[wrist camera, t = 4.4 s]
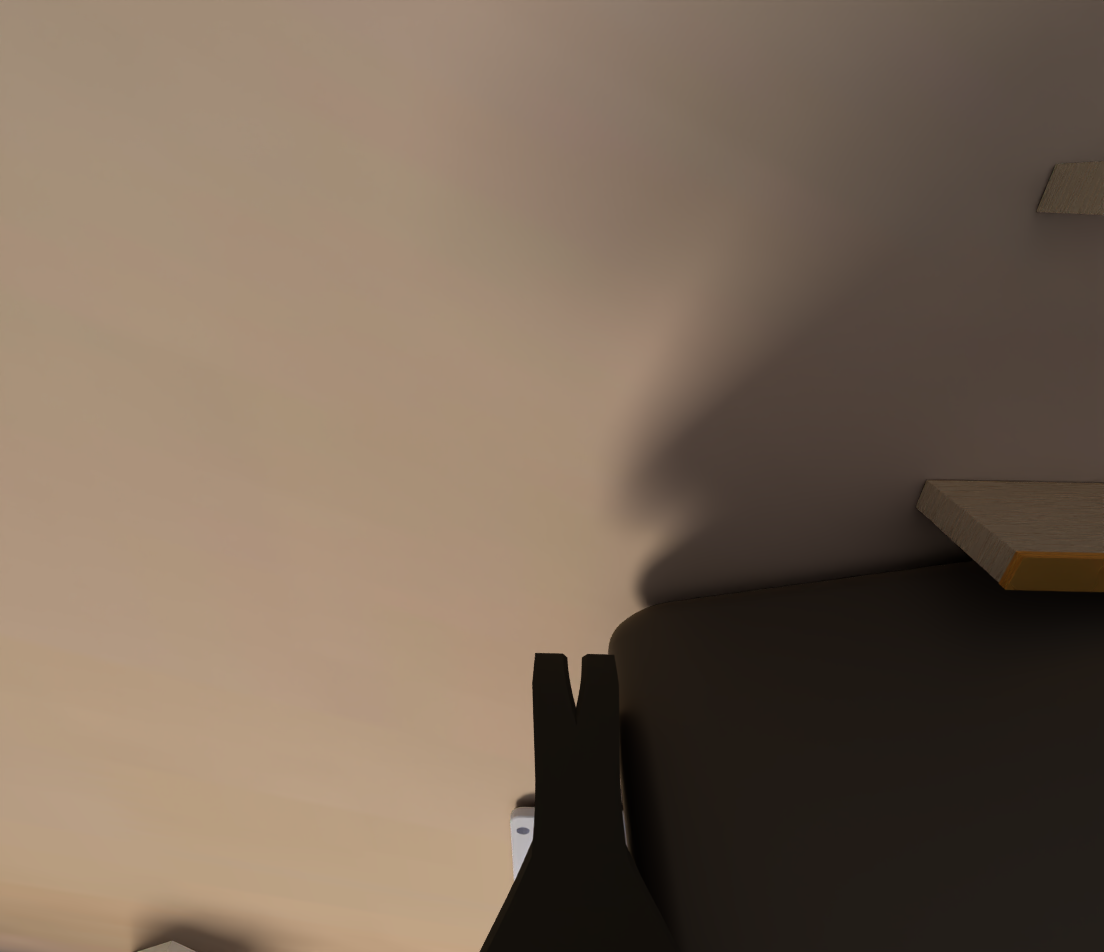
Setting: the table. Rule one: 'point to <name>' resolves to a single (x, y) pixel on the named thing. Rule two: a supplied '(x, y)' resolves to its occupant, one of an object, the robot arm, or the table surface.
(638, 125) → the table surface
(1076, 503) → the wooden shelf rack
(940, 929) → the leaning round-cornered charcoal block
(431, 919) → the table surface
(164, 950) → the white wedge bracket
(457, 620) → the table surface
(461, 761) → the table surface
